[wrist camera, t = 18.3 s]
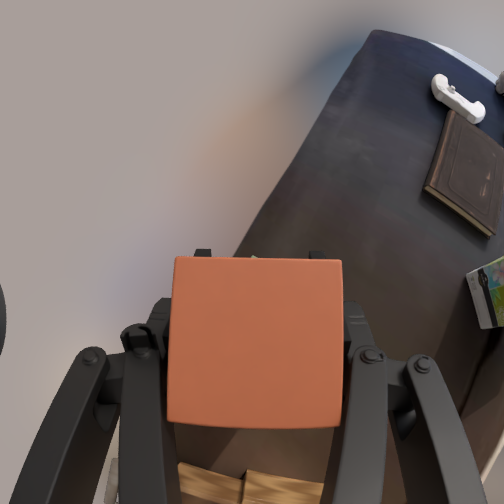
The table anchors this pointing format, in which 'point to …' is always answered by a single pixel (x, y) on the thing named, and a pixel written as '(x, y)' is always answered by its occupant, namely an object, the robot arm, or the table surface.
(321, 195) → the table surface
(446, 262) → the table surface
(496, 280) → the tea box
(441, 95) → the game controller
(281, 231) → the table surface
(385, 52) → the table surface
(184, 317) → the block
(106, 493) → the drawer
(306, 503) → the cabinet
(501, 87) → the toy rhinoceros
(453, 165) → the hardcover book
